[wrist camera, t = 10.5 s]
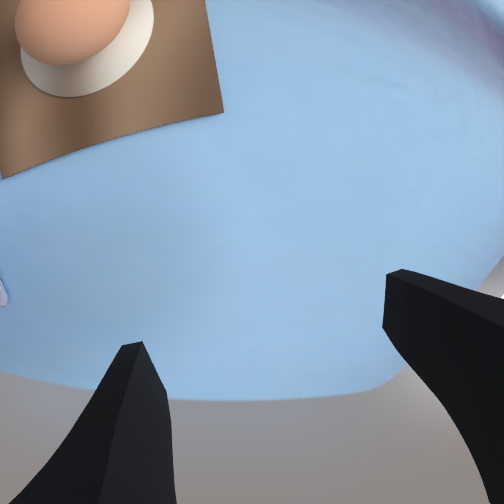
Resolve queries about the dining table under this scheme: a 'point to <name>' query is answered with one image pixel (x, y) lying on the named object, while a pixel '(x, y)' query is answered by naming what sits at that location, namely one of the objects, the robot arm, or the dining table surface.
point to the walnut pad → (106, 84)
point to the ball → (68, 28)
